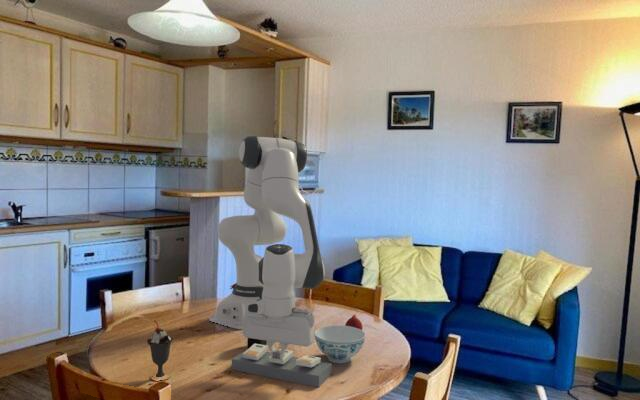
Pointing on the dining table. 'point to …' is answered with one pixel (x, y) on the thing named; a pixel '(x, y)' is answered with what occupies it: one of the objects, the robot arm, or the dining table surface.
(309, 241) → the robot arm
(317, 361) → the block
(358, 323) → the red rounded piece
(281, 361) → the rocker
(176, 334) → the dining table surface
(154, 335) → the sundae
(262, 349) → the rocker
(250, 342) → the battery
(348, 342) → the chinaware
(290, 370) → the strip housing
